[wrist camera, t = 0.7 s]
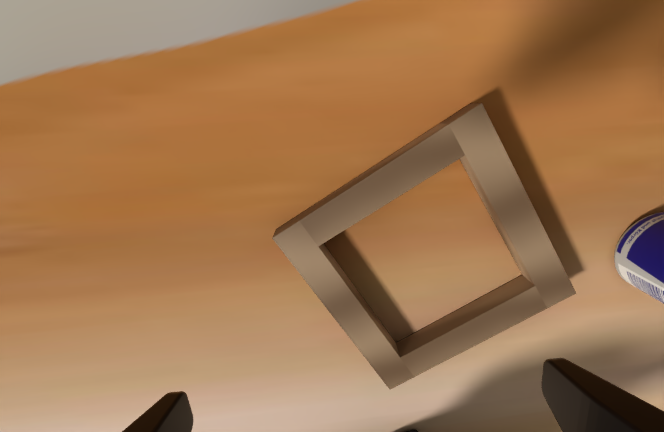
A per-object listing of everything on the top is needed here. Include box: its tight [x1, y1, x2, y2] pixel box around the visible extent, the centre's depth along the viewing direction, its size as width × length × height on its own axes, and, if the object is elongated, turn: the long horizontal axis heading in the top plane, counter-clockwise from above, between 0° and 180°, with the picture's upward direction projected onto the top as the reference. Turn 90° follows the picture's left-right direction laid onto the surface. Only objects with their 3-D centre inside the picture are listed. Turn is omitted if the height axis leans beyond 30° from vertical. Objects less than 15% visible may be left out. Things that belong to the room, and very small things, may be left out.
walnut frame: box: [272, 103, 576, 389], centre depth 22 cm, size 14×14×2 cm
